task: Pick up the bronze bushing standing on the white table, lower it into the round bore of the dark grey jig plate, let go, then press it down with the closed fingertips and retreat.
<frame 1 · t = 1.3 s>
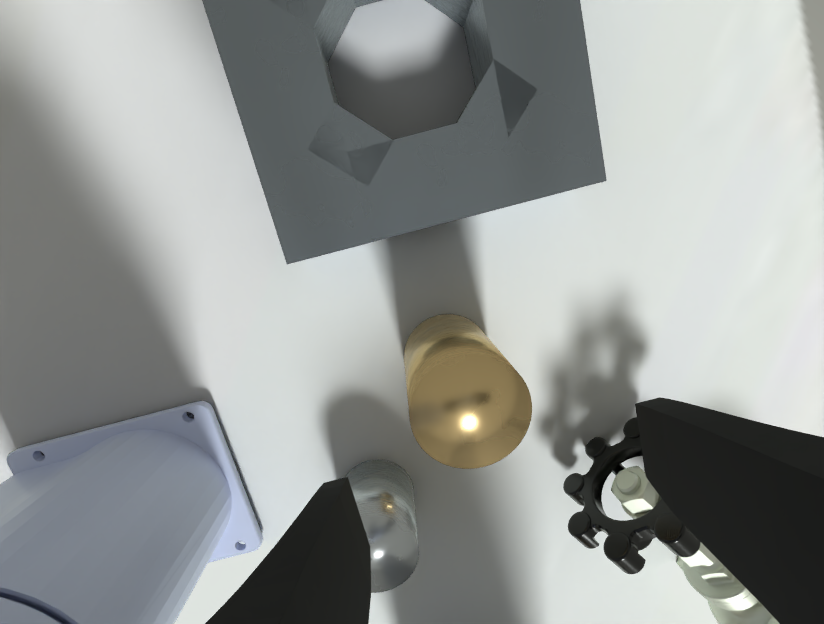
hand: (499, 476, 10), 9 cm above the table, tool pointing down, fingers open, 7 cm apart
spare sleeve: (377, 492, 21), on the table
valve: (661, 507, 22), on the table
jig: (402, 76, 17), on the table
bushing: (446, 356, 19), on the table
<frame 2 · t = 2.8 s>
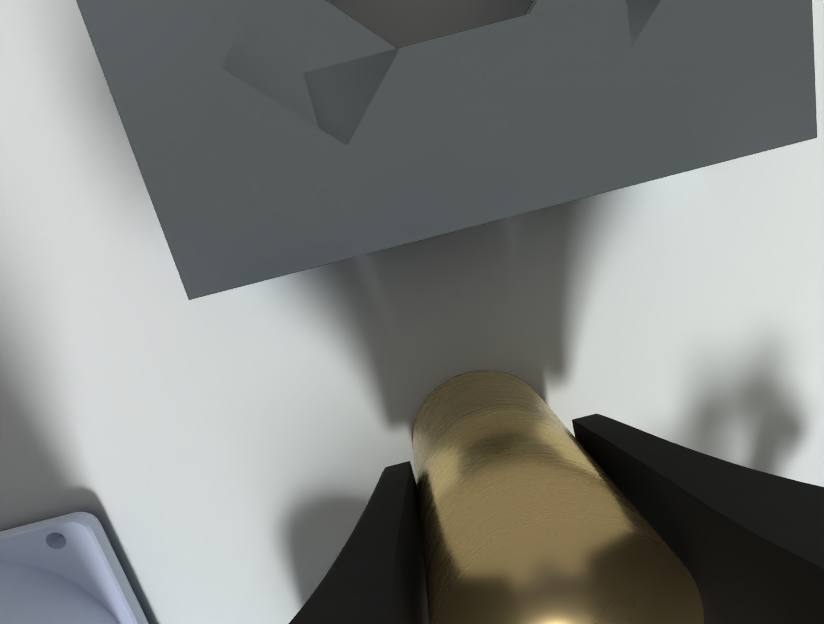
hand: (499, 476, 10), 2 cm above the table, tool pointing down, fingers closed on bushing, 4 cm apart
bushing: (482, 436, 12), on the table, touching gripper
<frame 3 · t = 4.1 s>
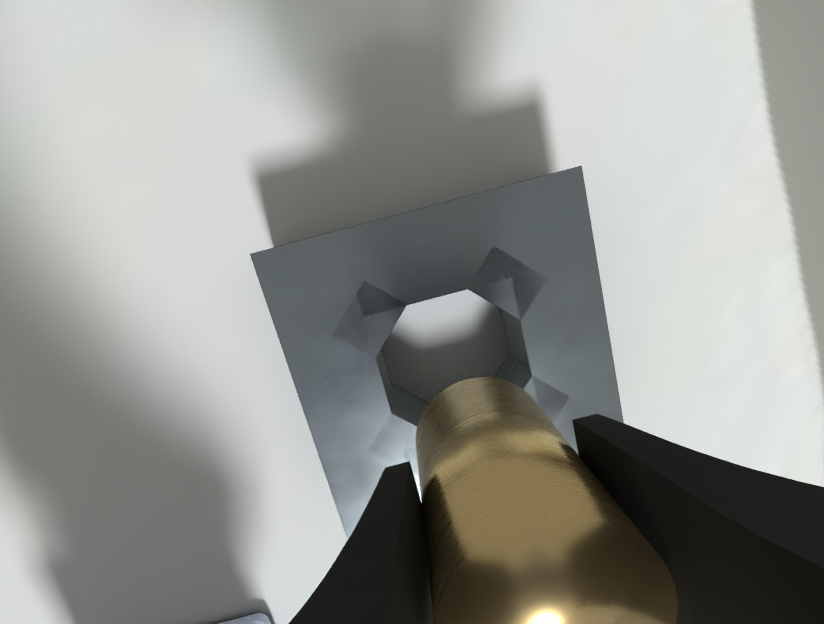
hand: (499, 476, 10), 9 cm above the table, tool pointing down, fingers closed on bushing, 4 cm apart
jig: (444, 345, 19), on the table
bushing: (480, 438, 13), point 6 cm above the table, touching gripper
when the fingers open (4 cm above the table, at t = 5.6 s): bushing drops 1 cm, resting in jig.
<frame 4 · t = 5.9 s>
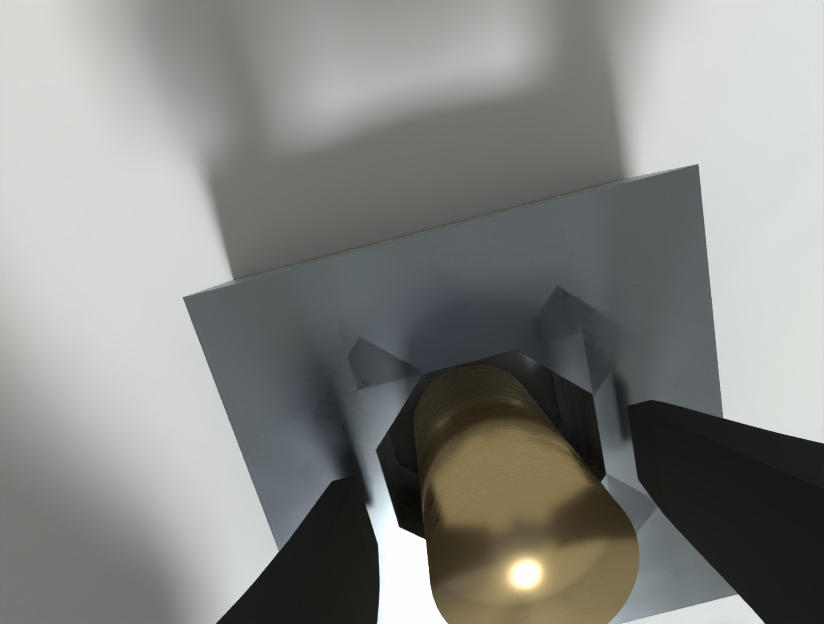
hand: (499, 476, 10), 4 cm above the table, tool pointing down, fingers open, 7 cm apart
jig: (471, 411, 14), on the table
bushing: (474, 422, 14), resting in jig
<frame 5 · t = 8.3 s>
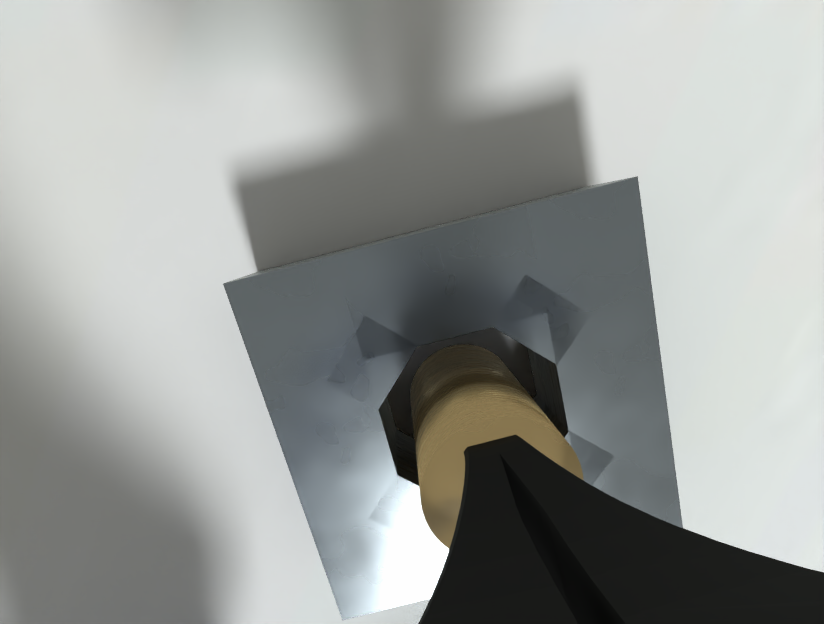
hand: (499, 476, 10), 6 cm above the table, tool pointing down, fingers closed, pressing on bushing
jig: (459, 384, 16), on the table
bushing: (462, 394, 16), resting in jig, touching gripper
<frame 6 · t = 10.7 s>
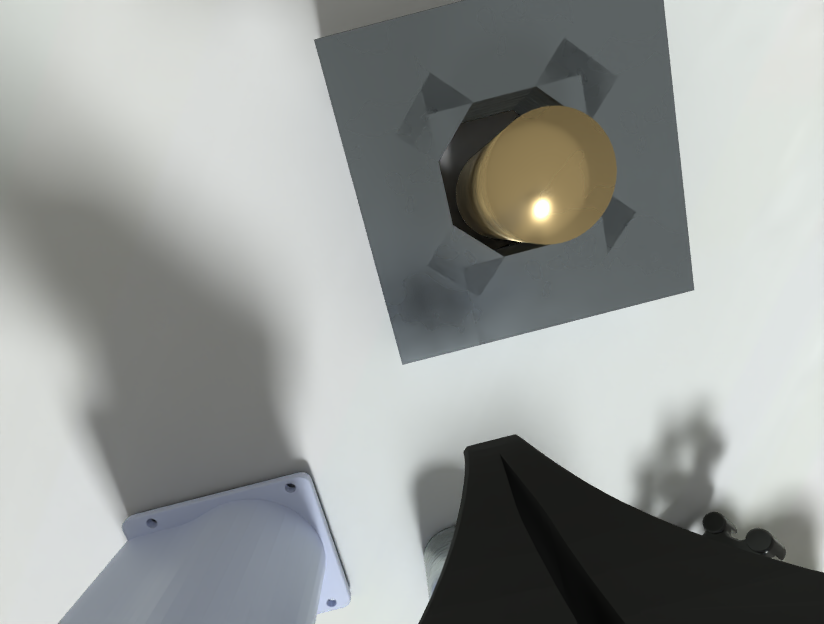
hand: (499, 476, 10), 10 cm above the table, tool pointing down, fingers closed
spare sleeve: (457, 554, 22), on the table
valve: (733, 583, 24), on the table
jig: (498, 182, 18), on the table
bushing: (500, 192, 18), resting in jig
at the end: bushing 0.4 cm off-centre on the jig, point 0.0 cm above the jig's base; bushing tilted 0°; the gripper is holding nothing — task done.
